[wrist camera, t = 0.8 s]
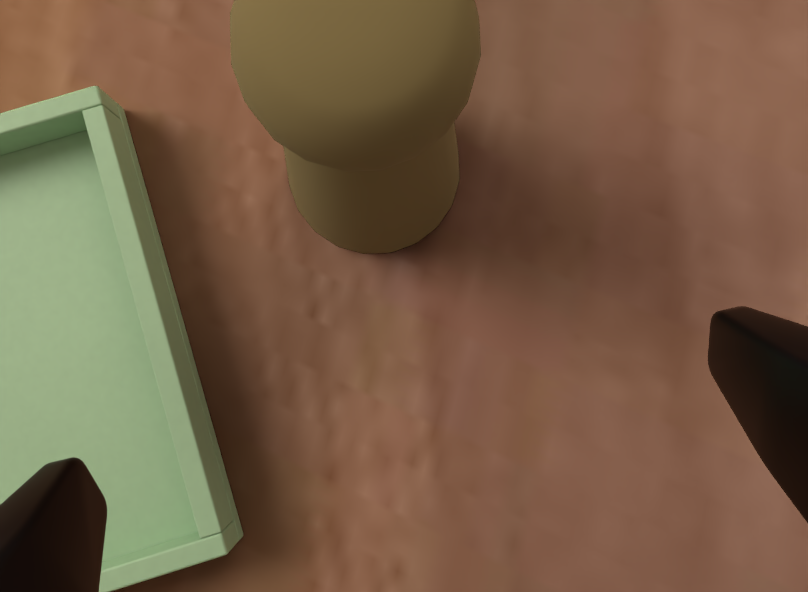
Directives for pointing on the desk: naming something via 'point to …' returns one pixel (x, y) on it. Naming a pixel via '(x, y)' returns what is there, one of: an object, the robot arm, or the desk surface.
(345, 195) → the olive brown pawn
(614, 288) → the desk surface
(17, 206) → the tray
